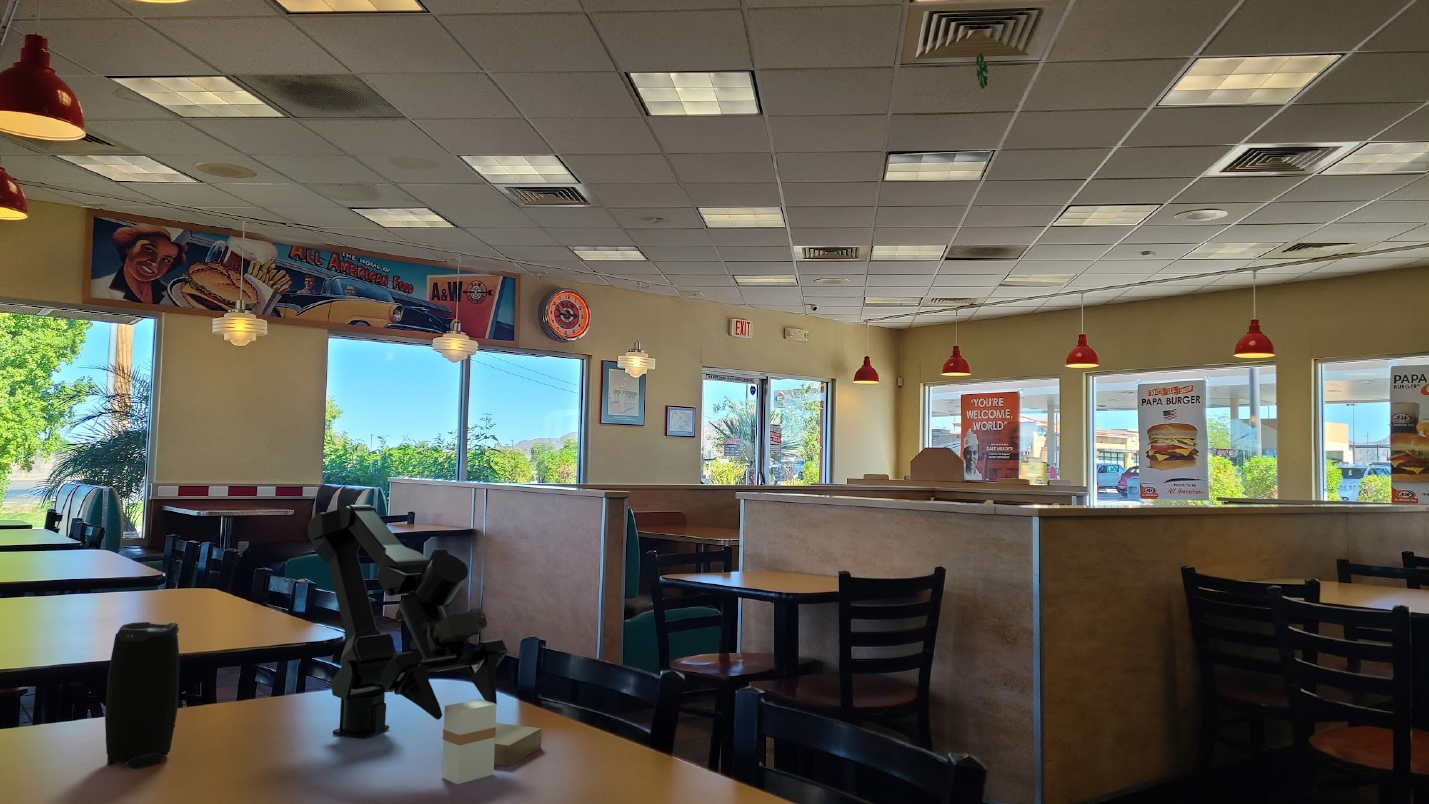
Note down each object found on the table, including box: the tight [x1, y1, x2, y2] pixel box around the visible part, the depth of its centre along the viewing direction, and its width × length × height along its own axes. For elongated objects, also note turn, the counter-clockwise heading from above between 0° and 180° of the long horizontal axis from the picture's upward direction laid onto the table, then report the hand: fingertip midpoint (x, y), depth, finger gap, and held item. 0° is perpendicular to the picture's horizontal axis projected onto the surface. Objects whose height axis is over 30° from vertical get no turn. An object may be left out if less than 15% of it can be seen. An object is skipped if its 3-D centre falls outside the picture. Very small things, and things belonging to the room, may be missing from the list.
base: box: [494, 722, 542, 767], centre depth 146 cm, size 10×10×3 cm
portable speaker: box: [104, 621, 181, 770], centre depth 138 cm, size 9×9×20 cm
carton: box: [441, 698, 497, 785], centre depth 135 cm, size 4×6×10 cm
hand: (467, 712), depth 136 cm, fingers open, 9 cm apart
